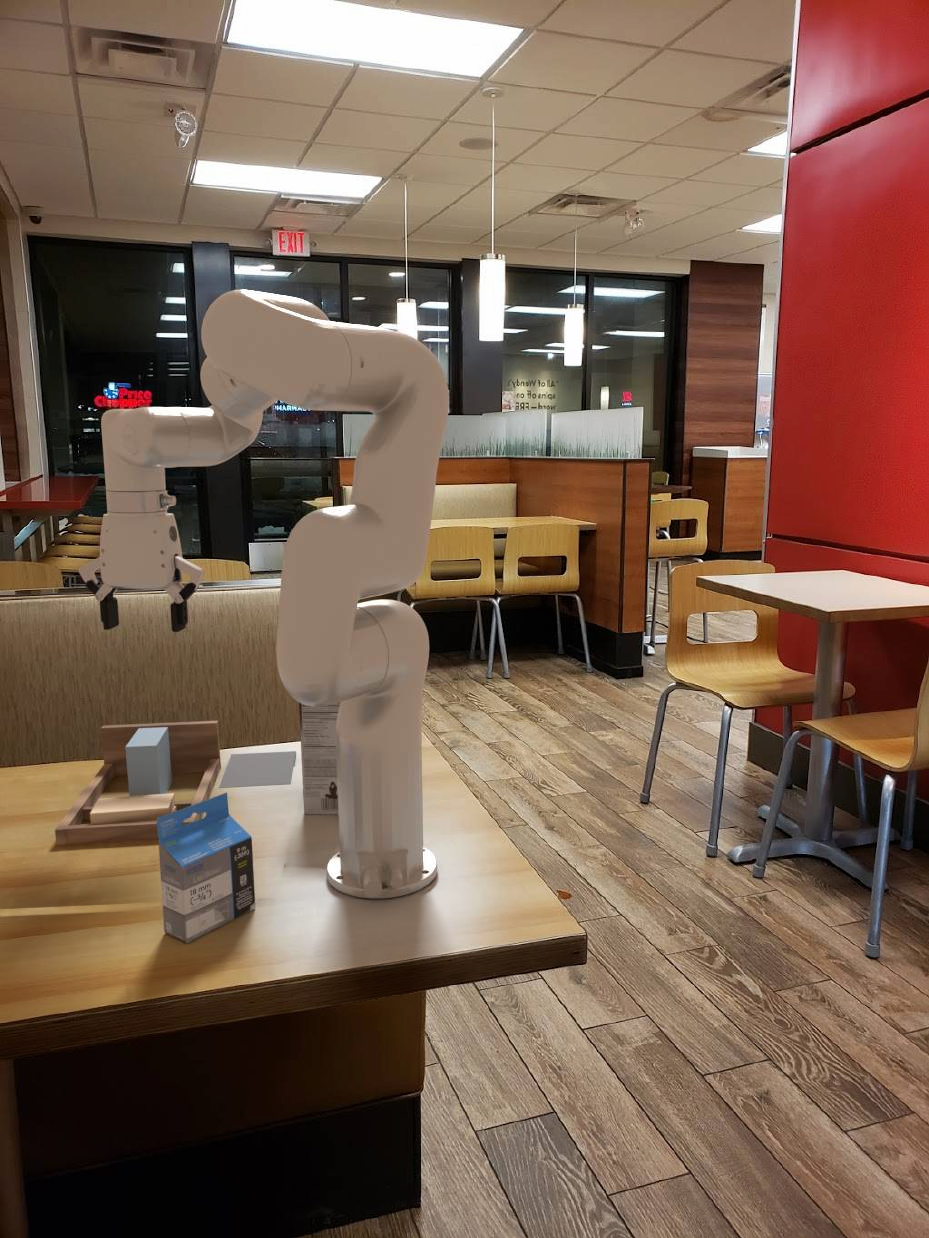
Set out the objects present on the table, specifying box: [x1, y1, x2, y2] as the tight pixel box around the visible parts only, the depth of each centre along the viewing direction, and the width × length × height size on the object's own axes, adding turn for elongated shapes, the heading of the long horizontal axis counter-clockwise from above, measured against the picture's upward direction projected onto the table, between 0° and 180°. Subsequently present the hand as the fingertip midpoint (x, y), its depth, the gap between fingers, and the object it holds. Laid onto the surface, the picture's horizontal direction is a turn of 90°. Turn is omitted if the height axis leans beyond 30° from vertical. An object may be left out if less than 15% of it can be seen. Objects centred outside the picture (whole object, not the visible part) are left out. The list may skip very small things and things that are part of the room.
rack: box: [54, 720, 222, 846], centre depth 123 cm, size 24×16×8 cm
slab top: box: [90, 792, 176, 824], centre depth 116 cm, size 5×9×2 cm, turn 99°
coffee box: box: [298, 702, 341, 815], centre depth 123 cm, size 9×6×16 cm
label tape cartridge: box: [156, 792, 256, 944], centre depth 93 cm, size 9×4×12 cm, turn 143°
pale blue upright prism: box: [125, 727, 173, 796], centre depth 126 cm, size 8×4×9 cm, turn 7°
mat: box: [218, 750, 297, 789], centre depth 136 cm, size 14×10×1 cm
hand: (145, 628), depth 125 cm, fingers open, 9 cm apart
